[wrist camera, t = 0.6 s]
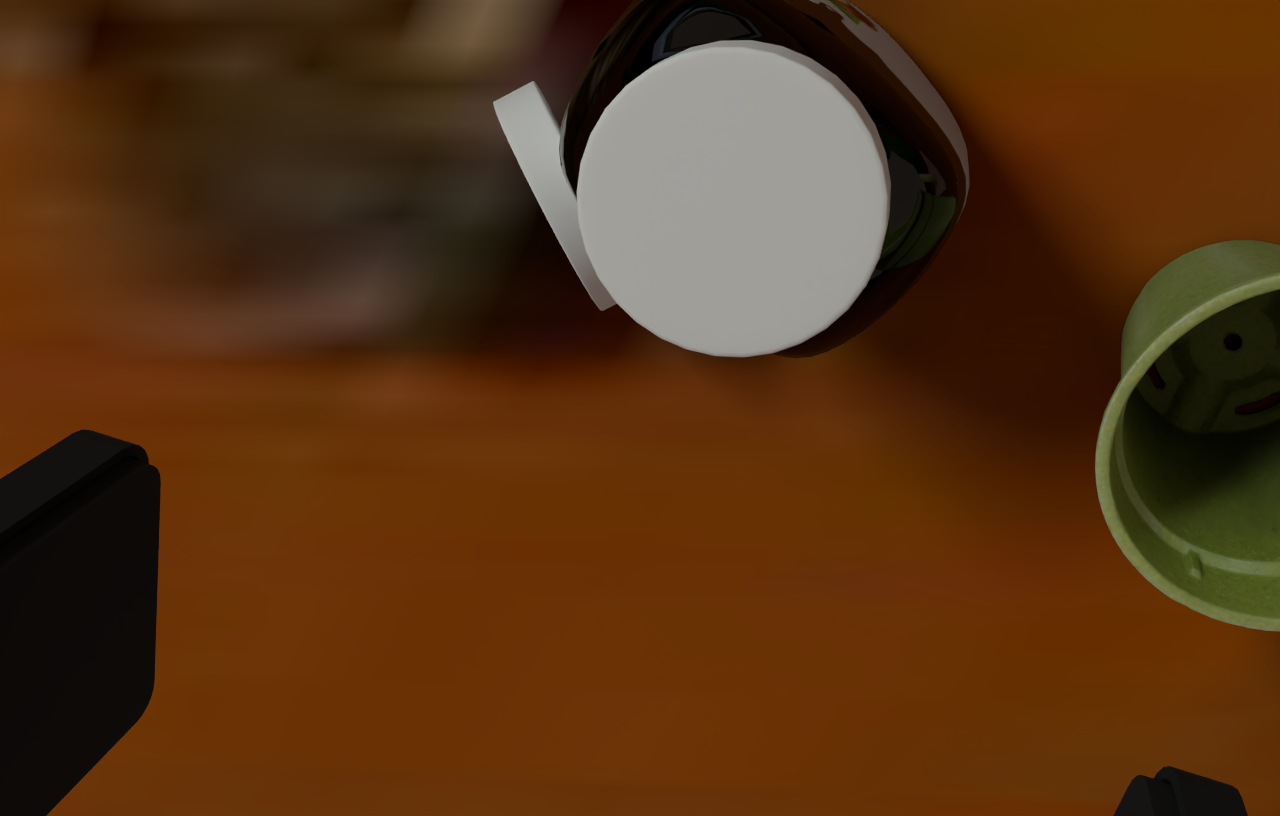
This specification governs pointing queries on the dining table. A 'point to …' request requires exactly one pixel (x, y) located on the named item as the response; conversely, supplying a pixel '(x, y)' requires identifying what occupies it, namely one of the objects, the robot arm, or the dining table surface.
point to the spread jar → (746, 172)
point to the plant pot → (1200, 435)
